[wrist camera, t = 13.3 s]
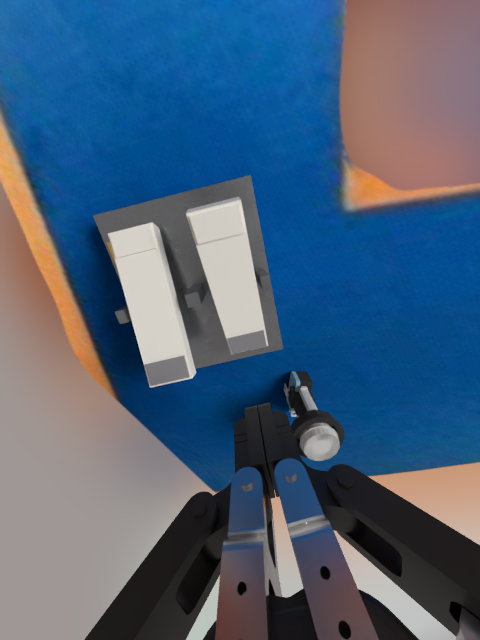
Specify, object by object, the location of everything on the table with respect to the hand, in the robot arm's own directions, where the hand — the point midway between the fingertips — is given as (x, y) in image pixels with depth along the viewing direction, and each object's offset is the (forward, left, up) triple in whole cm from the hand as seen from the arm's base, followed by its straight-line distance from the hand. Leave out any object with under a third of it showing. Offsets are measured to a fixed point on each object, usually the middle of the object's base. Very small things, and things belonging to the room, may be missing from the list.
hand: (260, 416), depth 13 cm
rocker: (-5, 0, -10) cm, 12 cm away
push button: (+12, +5, -16) cm, 21 cm away
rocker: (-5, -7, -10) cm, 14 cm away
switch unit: (-5, -4, -16) cm, 17 cm away
